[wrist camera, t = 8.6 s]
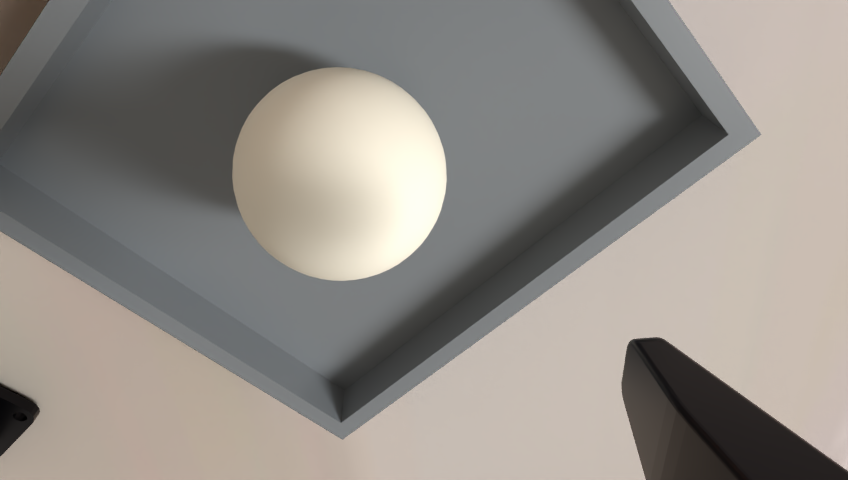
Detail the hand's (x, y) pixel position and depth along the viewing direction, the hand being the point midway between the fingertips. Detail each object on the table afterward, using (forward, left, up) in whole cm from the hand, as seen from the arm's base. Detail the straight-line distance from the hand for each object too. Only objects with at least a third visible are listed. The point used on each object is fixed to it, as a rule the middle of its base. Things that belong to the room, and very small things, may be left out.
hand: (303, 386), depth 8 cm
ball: (0, 0, -7) cm, 7 cm away
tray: (0, 0, -10) cm, 10 cm away
